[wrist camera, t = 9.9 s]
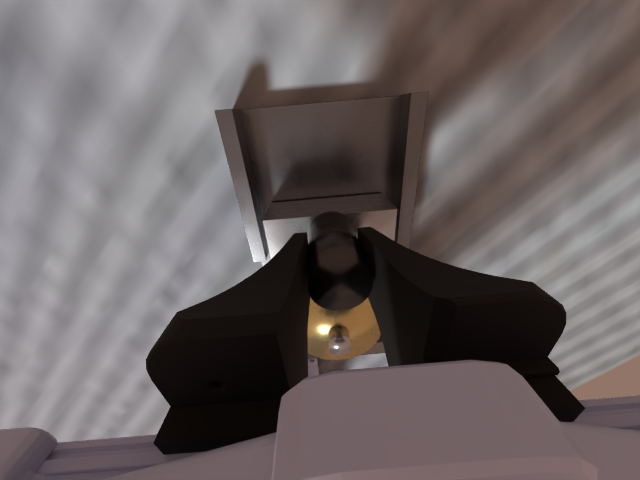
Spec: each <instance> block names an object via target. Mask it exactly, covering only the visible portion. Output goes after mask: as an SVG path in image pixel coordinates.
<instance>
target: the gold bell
mask: <svg viewBox="0 0 640 480" xmlns="http://www.w3.org/2000/svg"><path fill="white" fill-rule="evenodd" d="M380 335H381V334H380V330H379V326H378V323H377V320H376V317H375V315H374V312H373V309H372V307H371V304H370V302H369V299H368V298H367V299H366V300H365V301H364V302H363V303H361V304H360V305H358V306H356V307H354V308H352V309H348V310H343V311H333V310H328V309H325V308H322V307H320V306H319V305H317V304H316V303H315V302H314V301H313V300H312V299H311V297H310V306H309V317H308V354H310V355H312V356H315V357H317V358H321V359H326V360H344V359H349V358H353V357H356V356H358V355H361V354H363V353H365V352H366V351H368V350H369V349H370V348H372V347H373V346H374V345H375V344H376V342H377V341H378V339H379V337H380Z"/></svg>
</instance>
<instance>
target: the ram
mask: <svg viewBox="0 0 640 480" xmlns="http://www.w3.org/2000/svg"><path fill="white" fill-rule="evenodd" d="M396 217H397V208H396V207H395V206H394V205H393V204H392V203H391V202H390V201H389V200H388V199H387V198H386V197H385V196H384V194H383V193H380V194H368V195H356V196H345V197H333V198H322V199H310V200H299V201H287V202H275V203H271V204H270V206H269V208H268V210H267V212H266V215H265V217H264V219H263V225H264V229H265V234H266V239H267V243H268V248H269V253H270V257H271V259H272V258H273V257H274V256H275V255H276V254H277V253H278V252H279V251H280V249H281V248H282V247H283V246H284V245H285V244H286V242H287V241H288V240H289V239H290V238H291V236H292V235H293V234H294V233H303V232H307V238H308V293H309V295H310V297H311V299H312V300H313V301H314V302H315V303H316V304H317V305H319V306H320V307H322V308H325V309H328V310H333V311H343V310H348V309H352V308H354V307H356V306H358V305H360V304H361V303H363V302H364V301H365V300H366V299H367V298H368V296H369V295H370V293H371V291H372V288H373V279H372V275H371V273H370V270H369V268H368V265H367V262H366V260H365V257H364V255H363V252H362V249H361V247H360V244H359V241H358V228H361V227H372V228H374V229H375V230H377V231H379V232H380V233H382V234H384V235H385V236H387V237H388V238H390V239H392V240H393V241H394V240H395V229H396Z"/></svg>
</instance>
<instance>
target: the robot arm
mask: <svg viewBox="0 0 640 480" xmlns="http://www.w3.org/2000/svg"><path fill="white" fill-rule="evenodd" d="M358 241H359V244H360V247H361V249H362V252H363V255H364V257H365V260H366V262H367V265H368V268H369V270H370V273H371V275H372V279H373V288H372V291H371V293H370V295H369V296H368V299H369V302H370V304H371V307H372V309H373V312H374V315H375V317H376V320H377V323H378V326H379V330H380V334H381V338H382V342H383V345H384V349H385V353H386V357H387V361H388V365H389V367H377V368H365V369H353V370H341V371H332V372H327V373H323V374H319V369H318V362H317V359H308V317H309V306H310V295H309V293H308V238H307V232H303V233H294V234H293V235H292V236H291V238H290V239H289V240H288V241H287V242H286V244H285V245H284V246H283V247H282V248H281V249H280V251H279V252H278V253H277V254H276V255H275V256H274V257H273V258H272V259H271V260H270V261H269V262H268V263H266V264H265V265H264V266H263V267H262V268H260V269H259V270H258V271H256V272H255V273H254V274H252V275H251V276H249V277H248V278H246V279H245V280H243V281H242V282H240V283H238V284H237V285H235V286H234V287H232V288H230V289H228V290H226V291H224V292H222V293H220V294H218V295H216V296H214V297H212V298H210V299H208V300H206V301H203V302H201V303H199V304H196V305H194V306H191V307H189V308H187V309H184V310H182V311H179V312H177V313H176V314H175V316H174V317H173V319H172V320H171V322H170V323H169V325H168V326H167V327H166V329H165V330H164V332H163V333H162V335H161V336H160V338H159V339H158V341H157V342H156V343H155V345H154V346H153V348H152V349H151V351H150V353H149V355H148V357H147V359H146V369H147V372H148V374H149V376H150V378H151V380H152V381H153V383H154V384H155V385H156V387H157V388H158V390H159V391H160V392H161V394H162V395H163V396H164V398H165V399H166V401H167V402H168V403H169V405H170V406H171V407H170V409H169V411H168V413H167V415H166V417H165V419H164V421H163V424H162V426H161V428H160V430H159V432H158V434H157V435H146V436H134V437H122V438H109V439H97V440H85V441H72V442H60V443H57V440H56V439H55V438H54V437H53V436H52V435H51V434H50V433H48V432H46V431H44V430H42V429H38V428H15V429H2V430H0V480H640V395H639V396H628V397H615V398H602V399H590V400H577V399H576V398H575V397H574V396H573V395H572V393H571V392H570V391H569V390H568V389H567V388H566V387H565V386H564V385H563V384H562V383H561V382H560V381H559V379H558V378H557V377H556V376H555V375H558V374H559V372H560V371H559V368H558V367H557V366H556V365H555V364H554V363H553V362H552V361H551V360H550V359H549V358H548V355H549V354H550V352H551V350H552V349H553V347H554V346H555V344H556V342H557V341H558V339H559V338H560V336H561V334H562V332H563V330H564V328H565V325H566V311H565V309H564V307H563V305H562V304H560V303H559V302H558V301H557V300H555V299H554V298H553V297H551V296H550V295H549V294H547V293H546V292H545V291H543V290H542V289H541V288H540V287H538V286H537V285H536V284H534V283H533V282H528V281H522V280H516V279H510V278H504V277H498V276H492V275H487V274H483V273H479V272H474V271H470V270H466V269H462V268H458V267H455V266H452V265H449V264H445V263H442V262H439V261H436V260H434V259H431V258H429V257H426V256H424V255H421V254H419V253H417V252H414V251H412V250H410V249H408V248H406V247H404V246H402V245H401V244H399V243H397V242H395V241H393V240H392V239H390V238H388V237H387V236H385V235H384V234H382V233H380V232H379V231H377V230H375V229H374V228H372V227H361V228H358Z"/></svg>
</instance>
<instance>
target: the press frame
mask: <svg viewBox="0 0 640 480" xmlns="http://www.w3.org/2000/svg"><path fill="white" fill-rule="evenodd" d="M428 92H429V91H428ZM428 92H417V93H409V94H405V95H401V96H391V97H380V98H368V99H357V100H346V101H335V102H323V103H312V104H301V105H290V106H278V107H267V108H256V109H245V110H237V109H225V110H215V114H216V118H217V122H218V126H219V130H220V134H221V137H222V141H223V145H224V149H225V153H226V157H227V161H228V164H229V168H230V172H231V176H232V180H233V184H234V188H235V192H236V195H237V199H238V203H239V207H240V211H241V215H242V219H243V222H244V226H245V230H246V234H247V238H248V242H249V246H250V250H251V253H252V257H253V261H254V262H258V261H262V265H263V266H264V265H265V264H266V263H268V262H269V261H270V260H271V257H270V253H269V248H268V243H267V239H266V234H265V229H264V225H263V219H264V217H265V215H266V212H267V210H268V208H269V206H270V204H271V203H275V202H287V201H299V200H310V199H322V198H333V197H345V196H356V195H368V194H380V193H383V194H384V196H385V197H386V198H387V199H388V200H389V201H390V202H391V203H392V204H393V205H394V206H395V207H396V208H397V217H396V229H395V240H394V241H395V242H397V243H399V244H401V245H402V246H404V247H406V248H408V249H409V245H410V237H411V229H412V221H413V213H414V205H415V197H416V189H417V181H418V173H419V165H420V156H421V148H422V140H423V132H424V124H425V116H426V108H427V100H428ZM378 353H385V349H384V345H383V342H382V338H381V335H380V337H379V339H378V341H377V342H376V344H375V345H374V346H373V347H372V348H370V349H369V350H368V351H366V352H365V353H363V354H361V355H366V354H378ZM308 359H317V357H315V356H312V355H310V354H308Z"/></svg>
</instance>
